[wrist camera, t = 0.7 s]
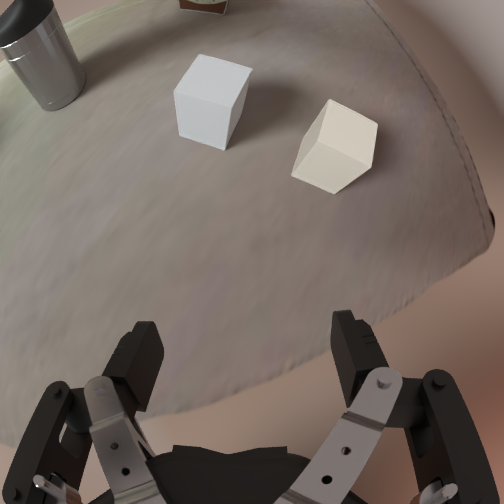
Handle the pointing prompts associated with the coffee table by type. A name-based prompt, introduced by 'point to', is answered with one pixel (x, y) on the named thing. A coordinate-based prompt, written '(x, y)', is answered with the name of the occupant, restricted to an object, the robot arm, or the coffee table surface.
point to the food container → (204, 6)
